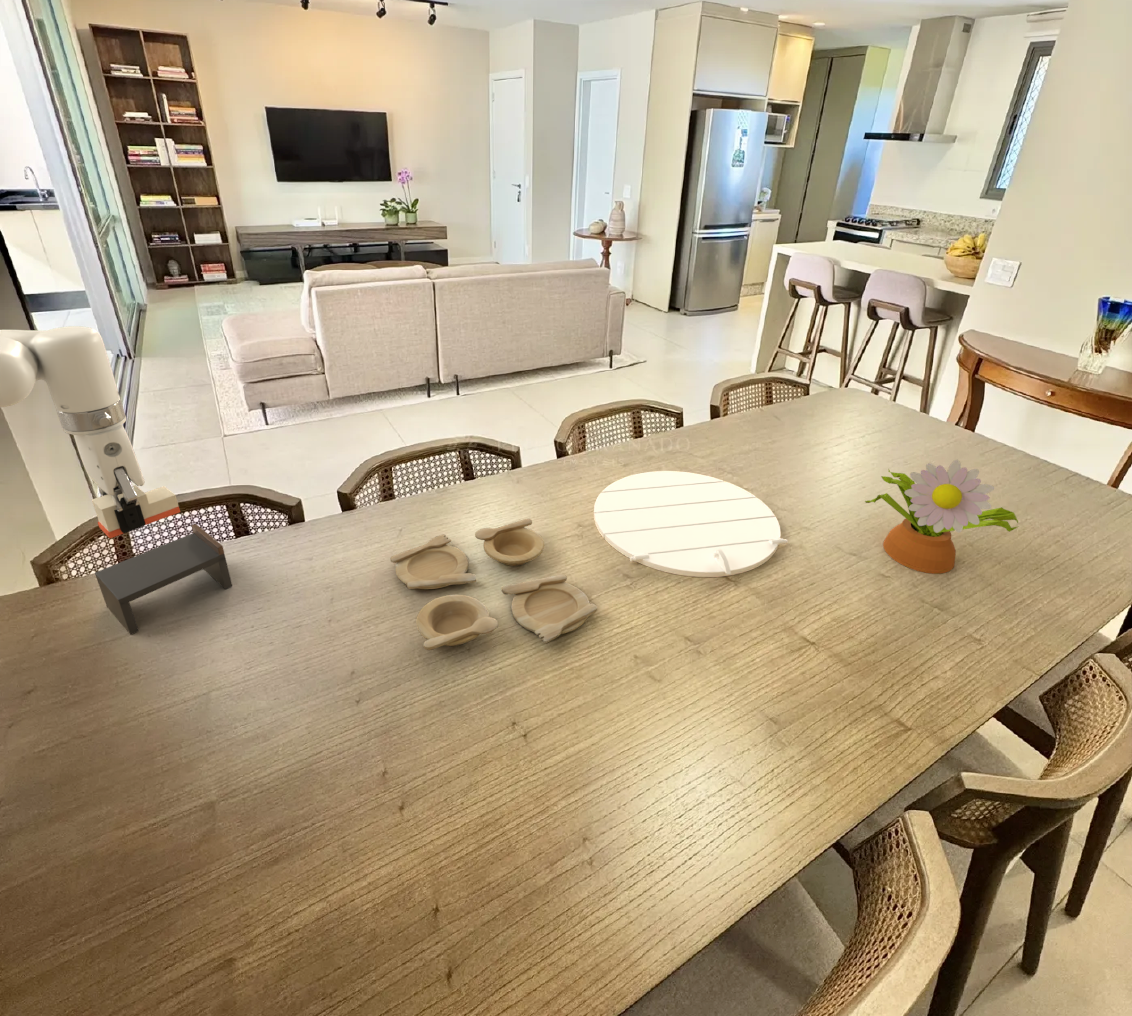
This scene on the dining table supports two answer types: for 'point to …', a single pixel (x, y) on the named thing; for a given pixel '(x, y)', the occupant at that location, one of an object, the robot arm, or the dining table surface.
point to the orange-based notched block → (151, 503)
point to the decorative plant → (938, 515)
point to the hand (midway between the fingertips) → (126, 521)
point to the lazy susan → (687, 524)
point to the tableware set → (533, 606)
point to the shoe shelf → (160, 572)
